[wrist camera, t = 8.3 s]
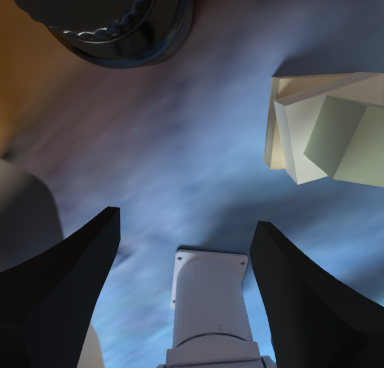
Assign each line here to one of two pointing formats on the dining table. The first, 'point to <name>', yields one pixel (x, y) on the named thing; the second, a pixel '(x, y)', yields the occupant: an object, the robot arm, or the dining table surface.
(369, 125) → the sage block
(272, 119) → the maple slab
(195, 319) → the robot arm
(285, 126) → the white slab
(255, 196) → the dining table surface
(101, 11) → the supplement bottle
